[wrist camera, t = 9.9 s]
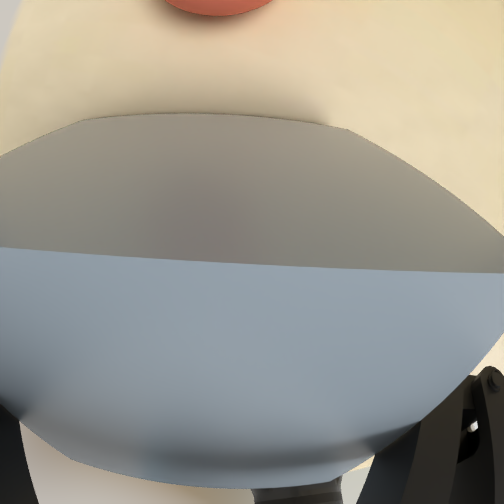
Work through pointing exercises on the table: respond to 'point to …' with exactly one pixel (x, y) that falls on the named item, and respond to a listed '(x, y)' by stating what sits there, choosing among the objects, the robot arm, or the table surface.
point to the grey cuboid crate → (233, 296)
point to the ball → (218, 6)
